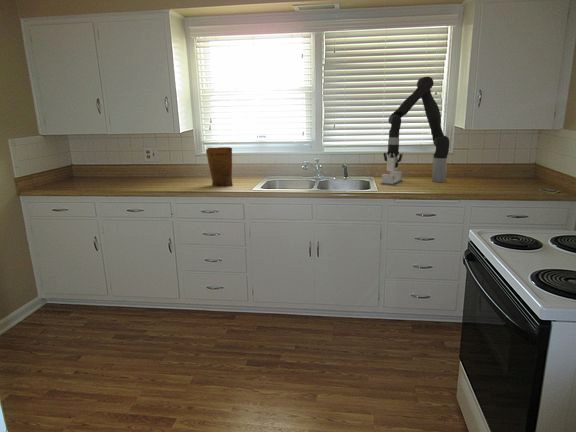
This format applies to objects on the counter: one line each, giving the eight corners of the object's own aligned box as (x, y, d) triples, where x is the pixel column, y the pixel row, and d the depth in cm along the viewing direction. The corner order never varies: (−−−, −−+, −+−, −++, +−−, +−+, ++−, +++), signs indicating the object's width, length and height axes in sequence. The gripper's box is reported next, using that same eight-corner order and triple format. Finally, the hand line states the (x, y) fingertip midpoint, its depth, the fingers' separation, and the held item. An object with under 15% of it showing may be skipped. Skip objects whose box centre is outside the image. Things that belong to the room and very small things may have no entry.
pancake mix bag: (232, 187, 306) (230, 147, 298) (207, 186, 311) (205, 147, 303) (235, 185, 312) (233, 146, 305) (211, 184, 317) (209, 146, 310)
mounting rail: (402, 181, 316) (403, 171, 314) (392, 185, 300) (393, 175, 298) (390, 180, 321) (391, 170, 319) (380, 184, 305) (380, 174, 303)
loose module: (397, 169, 310) (398, 156, 308) (393, 171, 303) (393, 158, 301) (391, 169, 313) (391, 156, 311) (386, 170, 306) (387, 157, 303)
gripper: (405, 143, 302) (403, 167, 307) (385, 142, 310) (384, 166, 314) (401, 144, 296) (400, 168, 301) (381, 143, 304) (380, 167, 308)
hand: (392, 167), depth 308 cm, fingers closed on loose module, 5 cm apart
